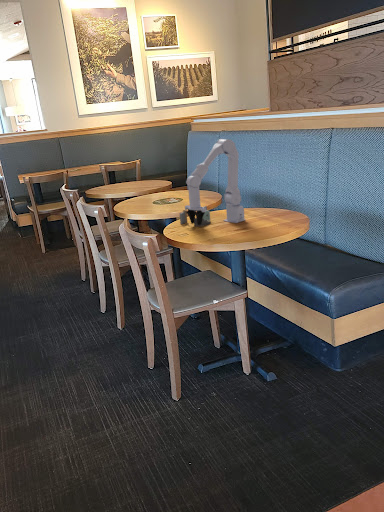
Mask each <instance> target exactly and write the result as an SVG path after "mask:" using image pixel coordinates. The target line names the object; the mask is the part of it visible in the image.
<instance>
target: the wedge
mask: <svg viewBox="0 0 384 512" xmlns="http://www.w3.org/2000/svg"><path fill="white" fill-rule="evenodd" d="M193 225H194V227H198V228H200V227H201V228H202V227H204V226H207V225H211V220H210V221H208V220H204V218H202V223H201V224H200V225H198V224H197V218H196V217H195V218H194V223H193Z"/></svg>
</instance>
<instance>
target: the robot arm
mask: <svg viewBox="0 0 384 512" xmlns="http://www.w3.org/2000/svg"><path fill="white" fill-rule="evenodd" d="M222 154H224V155H225V156H226V157H227V158H228V159H227V187H226V188H225V193H224V195H223V200H224V202H225V206H226V207H225V209H226V211H225V212H226V219H223V222H229V223H234V224H239V223H241V222H243V221H246V218H245V208H244V206H242V205H240V203H241V201H242V196H241V190H240V189H239V188H238V186H239V185H238V182H239V180H238V179H239V157H240V156H239V151H238V149H237V147H236V143H235V142H234V141H233V140H231V139H230V138H229V139H226V138H219V139H218V140H216V143H215V144H213V146H212V148H211V150H210V151H209V152H208V155H207V156H206V158H205V159H204V160H203V161H202V163H199V164H196V168H195V169H194V170H193V172H191V173H190V175H189V176H188V177H187V178H186V181H185V183H186V185H187V187H188V188H187V189H188V199H189V200H188V201H189V205H188V204H187V205H185V206H184V210H187V211H186V213H187V217H189V220H190V224H191V225H194V218H197V224H198V225H200V224H201V223H202V218H203V215H204V213H205V212H206V208H204V206H201V196H200V193H201V192H200V185H202V184H201V183H202V180H203V178H204V177H205V175H206V174H207V172H208V171H209V166H210V165H211V164H212V163H213V161H214V160H215V159H216V158H217V157H218V156H219V155H222ZM197 211H198V212H197Z"/></svg>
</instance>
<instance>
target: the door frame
mask: <svg viewBox="0 0 384 512" xmlns="http://www.w3.org/2000/svg"><path fill="white" fill-rule="evenodd" d="M203 207H204V208H206V210H208V206H206V205H205V206H203ZM186 211H188V209H187V210H185V209H182V212H180V213H179V222H180V224H181V225H183V224H187V223H188V214H187V213H186ZM196 212H198V211H196Z"/></svg>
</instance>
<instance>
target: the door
mask: <svg viewBox="0 0 384 512" xmlns="http://www.w3.org/2000/svg"><path fill="white" fill-rule="evenodd" d="M203 218H204V220H207V221H210V222H211V211H210V210H208V209H207V210H206V212H205V213H204V215H203Z"/></svg>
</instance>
